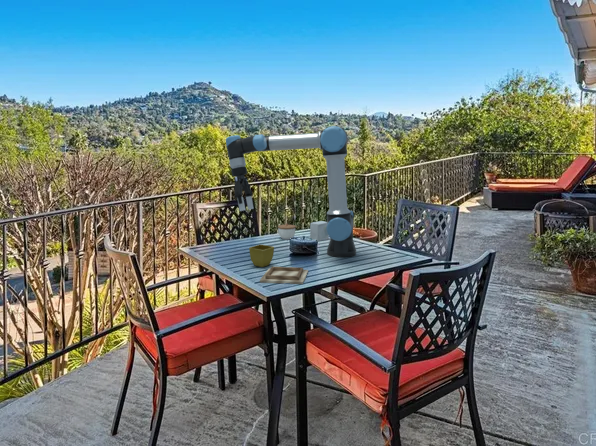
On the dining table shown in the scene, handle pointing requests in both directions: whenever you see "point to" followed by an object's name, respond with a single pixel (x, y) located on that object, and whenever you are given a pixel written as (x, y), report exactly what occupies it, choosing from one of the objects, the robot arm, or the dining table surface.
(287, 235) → the lidded jar
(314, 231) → the skincare box
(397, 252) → the dining table surface
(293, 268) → the birch tray
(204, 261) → the dining table surface
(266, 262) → the flower pot
